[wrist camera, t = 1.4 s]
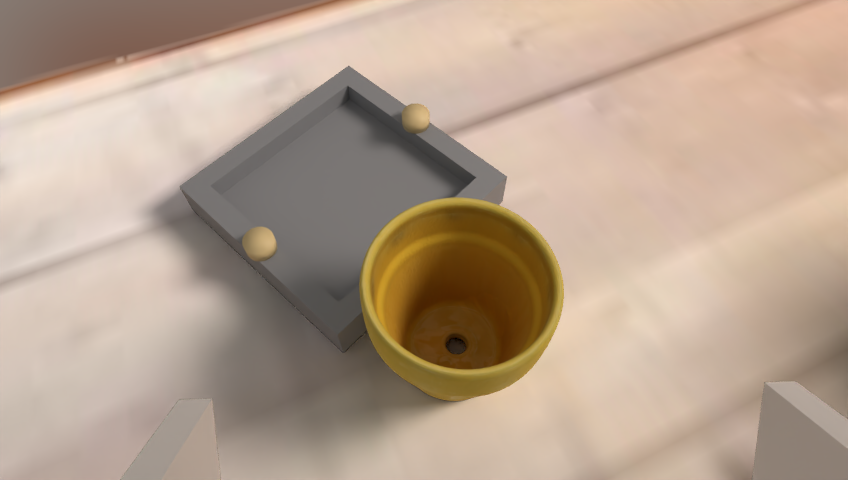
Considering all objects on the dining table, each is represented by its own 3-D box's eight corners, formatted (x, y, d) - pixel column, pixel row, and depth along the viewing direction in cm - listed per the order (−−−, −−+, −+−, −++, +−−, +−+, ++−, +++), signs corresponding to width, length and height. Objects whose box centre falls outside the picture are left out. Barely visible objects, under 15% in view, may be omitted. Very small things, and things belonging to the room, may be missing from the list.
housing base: (354, 91, 50) (349, 54, 47) (504, 199, 45) (510, 165, 41) (190, 213, 44) (171, 180, 41) (340, 355, 39) (332, 331, 35)
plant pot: (523, 273, 42) (547, 189, 33) (547, 426, 36) (583, 372, 28) (372, 281, 41) (357, 199, 33) (374, 436, 36) (357, 385, 28)
